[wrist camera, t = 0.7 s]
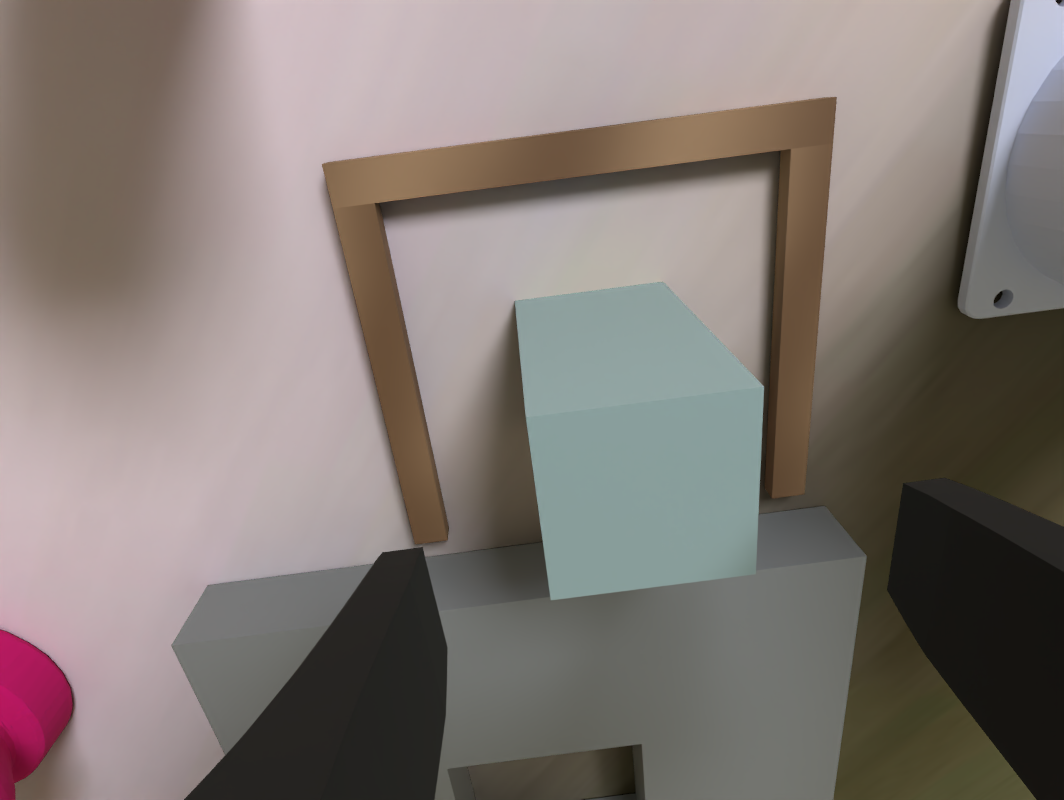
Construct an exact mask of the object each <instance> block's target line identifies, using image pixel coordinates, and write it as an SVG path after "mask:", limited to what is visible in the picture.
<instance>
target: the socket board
mask: <svg viewBox="0 0 1064 800" xmlns="http://www.w3.org/2000/svg"><path fill="white" fill-rule="evenodd" d="M866 558H867V556H866V555H865V553H864V552H863V551H862V550H861V549H860V547H859V546H858V545H857V544H856V543H855V541H854V540H853V539H852V538H851V537H850V535H849V534H848V533H847V532H846V531H845V529H844V528H843V527H842V526H841V525H840V523H839V522H838V521H837V520H836V518H835V517H834V516H833V515H832V514H831V512H830V511H829V510H828V509H827V508H826V506H820V507H812V508H805V509H797V510H789V511H781V512H773V513H766V514H758V536H757V559H756V574H753V575H746V576H738V577H730V578H722V579H714V580H706V581H699V582H691V583H683V584H675V585H667V586H659V587H652V588H644V589H636V590H628V591H620V592H613V593H605V594H597V595H589V596H581V597H573V598H566V599H558V600H551V598H550V591H549V583H548V576H547V569H546V561H545V554H544V547H543V542H541V543H533V544H525V545H517V546H509V547H502V548H494V549H486V550H478V551H471V552H463V553H455V554H447V555H440V556H432V557H425V559H426V563H427V567H428V571H429V575H430V579H431V583H432V587H433V591H434V595H435V599H436V603H437V607H438V611H439V615H440V619H441V623H442V627H443V631H444V635H445V639H446V643H447V647H448V654H447V698H446V718H445V726H444V734H443V741H442V749H441V756H440V764H439V771H438V778H437V785H436V793H435V800H475V796H474V791H473V787H472V783H471V779H470V775H469V771H468V767H467V766H473V765H481V764H489V763H497V762H505V761H512V760H520V759H528V758H536V757H544V756H552V755H559V754H567V753H575V752H583V751H591V750H598V749H606V748H614V747H622V746H630V745H632V750H633V763H634V777H635V790H636V793H634V794H626V795H618V796H610V797H603V798H595V799H587V800H833V797H834V790H835V783H836V775H837V768H838V761H839V754H840V746H841V739H842V732H843V725H844V718H845V710H846V703H847V696H848V689H849V681H850V674H851V667H852V660H853V652H854V645H855V638H856V631H857V624H858V616H859V609H860V602H861V595H862V587H863V580H864V573H865V566H866ZM372 565H373V564H370V565H362V566H354V567H346V568H339V569H331V570H323V571H315V572H308V573H300V574H292V575H284V576H276V577H269V578H261V579H253V580H245V581H238V582H230V583H222V584H214V585H208V586H207V588H206V589H205V591H204V592H203V594H202V596H201V597H200V599H199V601H198V602H197V604H196V606H195V607H194V609H193V611H192V612H191V614H190V616H189V617H188V619H187V621H186V622H185V624H184V626H183V627H182V629H181V631H180V632H179V634H178V635H177V637H176V639H175V640H174V642H173V644H172V645H171V646H172V648H173V650H174V652H175V654H176V656H177V658H178V660H179V662H180V664H181V666H182V668H183V670H184V672H185V674H186V676H187V678H188V680H189V682H190V684H191V686H192V688H193V691H194V693H195V695H196V697H197V699H198V701H199V703H200V705H201V707H202V709H203V711H204V713H205V715H206V717H207V719H208V721H209V723H210V725H211V727H212V729H213V731H214V733H215V735H216V737H217V739H218V741H219V743H220V745H221V747H222V749H223V751H224V753H225V755H226V754H227V753H228V752H229V751H230V750H231V748H232V747H233V746H234V745H235V744H236V743H237V742H238V740H239V739H240V738H241V737H242V736H243V735H244V734H245V732H246V731H247V730H248V729H249V728H250V726H251V725H252V724H253V723H254V722H255V720H256V719H257V718H258V717H259V715H260V714H261V713H262V712H263V711H264V709H265V708H266V707H267V706H268V704H269V703H270V702H271V701H272V700H273V698H274V697H275V696H276V695H277V694H278V692H279V691H280V690H281V689H282V687H283V686H284V685H285V684H286V683H287V681H288V680H289V679H290V678H291V676H292V675H293V674H294V672H295V671H296V670H297V669H298V667H299V666H300V665H301V663H302V662H303V661H304V659H305V658H306V657H307V655H308V654H309V653H310V651H311V650H312V649H313V647H314V646H315V645H316V643H317V642H318V641H319V639H320V638H321V637H322V635H323V634H324V633H325V631H326V630H327V629H328V627H329V626H330V625H331V623H332V622H333V620H334V619H335V618H336V616H337V615H338V613H339V612H340V611H341V609H342V608H343V606H344V605H345V604H346V602H347V601H348V599H349V598H350V597H351V595H352V594H353V592H354V591H355V589H356V588H357V587H358V585H359V584H360V582H361V581H362V579H363V578H364V577H365V575H366V574H367V572H368V571H369V569H370V568H371V567H372Z"/></svg>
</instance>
